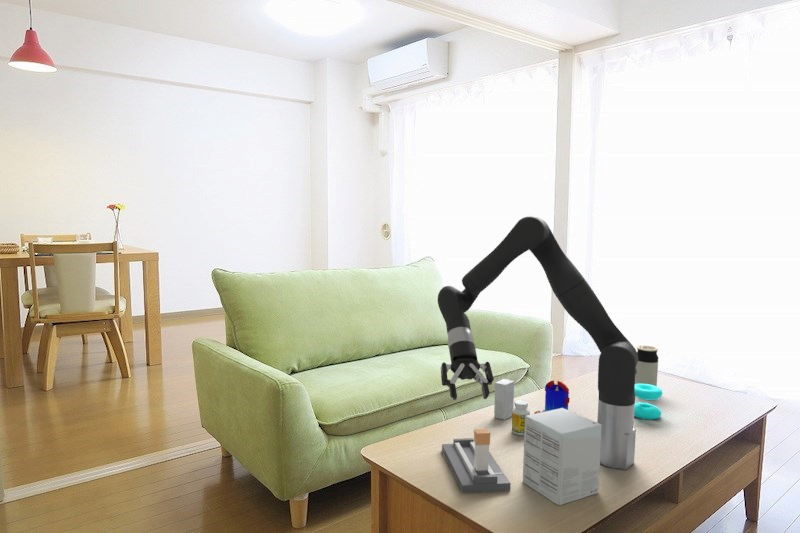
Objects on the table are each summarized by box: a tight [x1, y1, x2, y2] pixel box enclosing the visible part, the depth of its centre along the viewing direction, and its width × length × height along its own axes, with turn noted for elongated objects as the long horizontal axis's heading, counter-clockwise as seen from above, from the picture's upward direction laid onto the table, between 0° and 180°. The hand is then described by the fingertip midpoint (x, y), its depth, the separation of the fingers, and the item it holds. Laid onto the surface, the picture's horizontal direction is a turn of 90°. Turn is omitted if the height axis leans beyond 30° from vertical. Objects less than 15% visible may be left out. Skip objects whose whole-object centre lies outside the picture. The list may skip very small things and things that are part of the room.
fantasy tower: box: [533, 380, 570, 414], centre depth 185 cm, size 12×12×12 cm
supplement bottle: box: [511, 399, 531, 436], centre depth 169 cm, size 5×5×10 cm
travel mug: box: [635, 345, 659, 387], centre depth 208 cm, size 8×8×18 cm
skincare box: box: [493, 378, 515, 421], centre depth 182 cm, size 6×4×12 cm
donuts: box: [634, 384, 663, 421], centre depth 185 cm, size 10×10×10 cm
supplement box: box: [522, 408, 602, 506], centre depth 134 cm, size 13×13×18 cm
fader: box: [473, 428, 491, 475], centre depth 137 cm, size 3×3×11 cm
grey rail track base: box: [441, 437, 511, 494], centre depth 144 cm, size 24×12×4 cm, turn 7°
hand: (470, 398), depth 147 cm, fingers open, 8 cm apart
